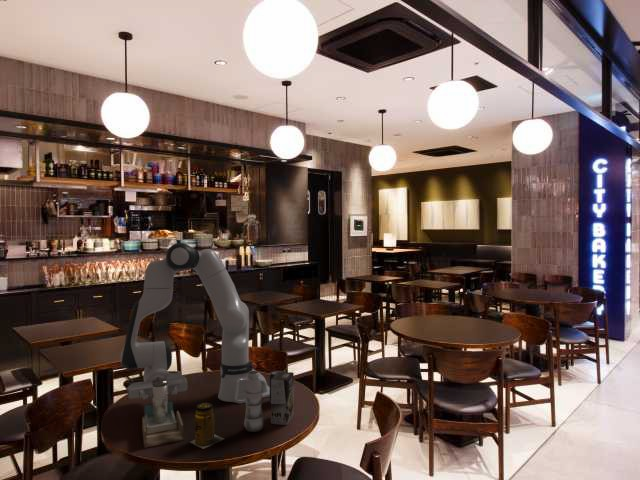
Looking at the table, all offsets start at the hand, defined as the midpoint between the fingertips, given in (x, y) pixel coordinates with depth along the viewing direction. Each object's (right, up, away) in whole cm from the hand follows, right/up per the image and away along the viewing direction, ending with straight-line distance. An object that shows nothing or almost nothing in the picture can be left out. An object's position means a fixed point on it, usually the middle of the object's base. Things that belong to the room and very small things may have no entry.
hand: (160, 394), depth 153 cm
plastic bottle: (+33, -12, -2) cm, 35 cm away
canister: (0, -9, +1) cm, 10 cm away
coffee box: (+42, -11, +7) cm, 44 cm away
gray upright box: (+39, -11, +23) cm, 47 cm away
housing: (+3, -12, -6) cm, 13 cm away
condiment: (+19, -12, -10) cm, 25 cm away
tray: (0, -11, 0) cm, 12 cm away
